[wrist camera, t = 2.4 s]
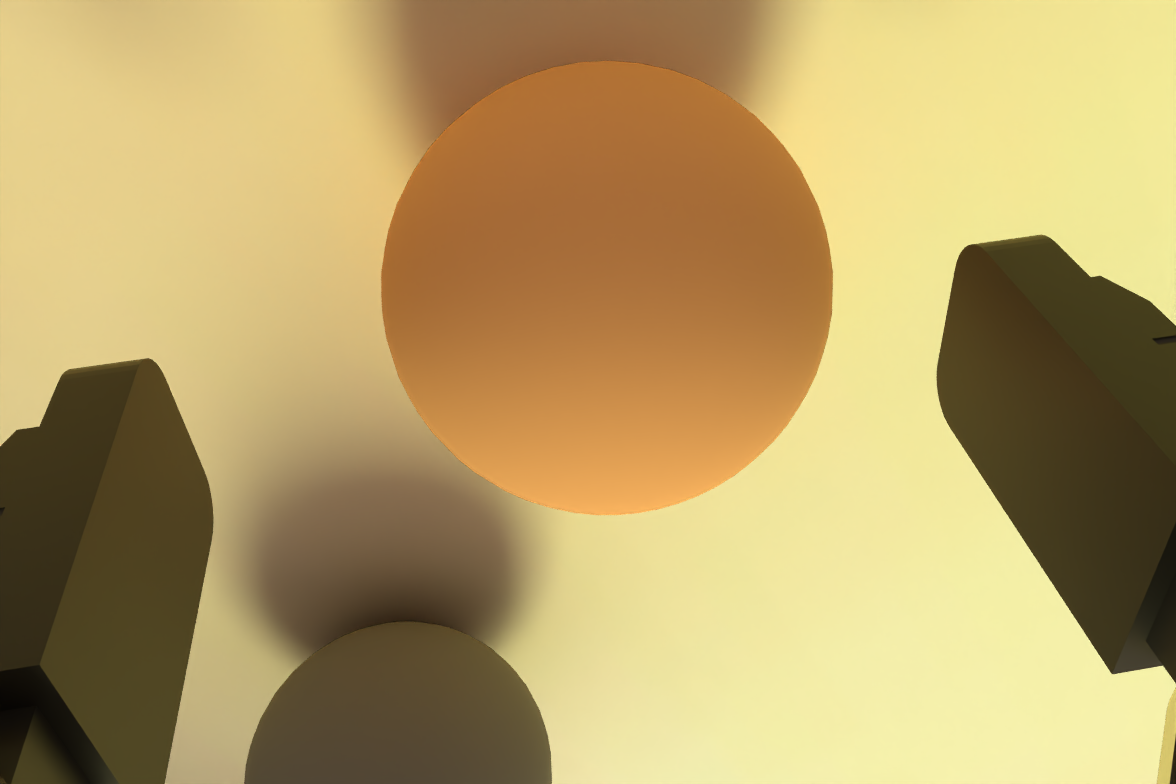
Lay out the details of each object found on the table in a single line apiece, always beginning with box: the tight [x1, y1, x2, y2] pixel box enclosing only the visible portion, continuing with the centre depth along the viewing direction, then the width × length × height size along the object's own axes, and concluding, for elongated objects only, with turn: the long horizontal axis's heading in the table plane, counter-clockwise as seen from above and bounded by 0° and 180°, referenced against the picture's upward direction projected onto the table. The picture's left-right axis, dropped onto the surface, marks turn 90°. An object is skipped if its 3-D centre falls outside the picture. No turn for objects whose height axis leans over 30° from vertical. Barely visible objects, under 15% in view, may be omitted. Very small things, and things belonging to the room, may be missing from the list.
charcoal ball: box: [244, 622, 552, 784], centre depth 17 cm, size 5×5×5 cm
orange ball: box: [381, 61, 833, 515], centre depth 12 cm, size 5×5×5 cm
